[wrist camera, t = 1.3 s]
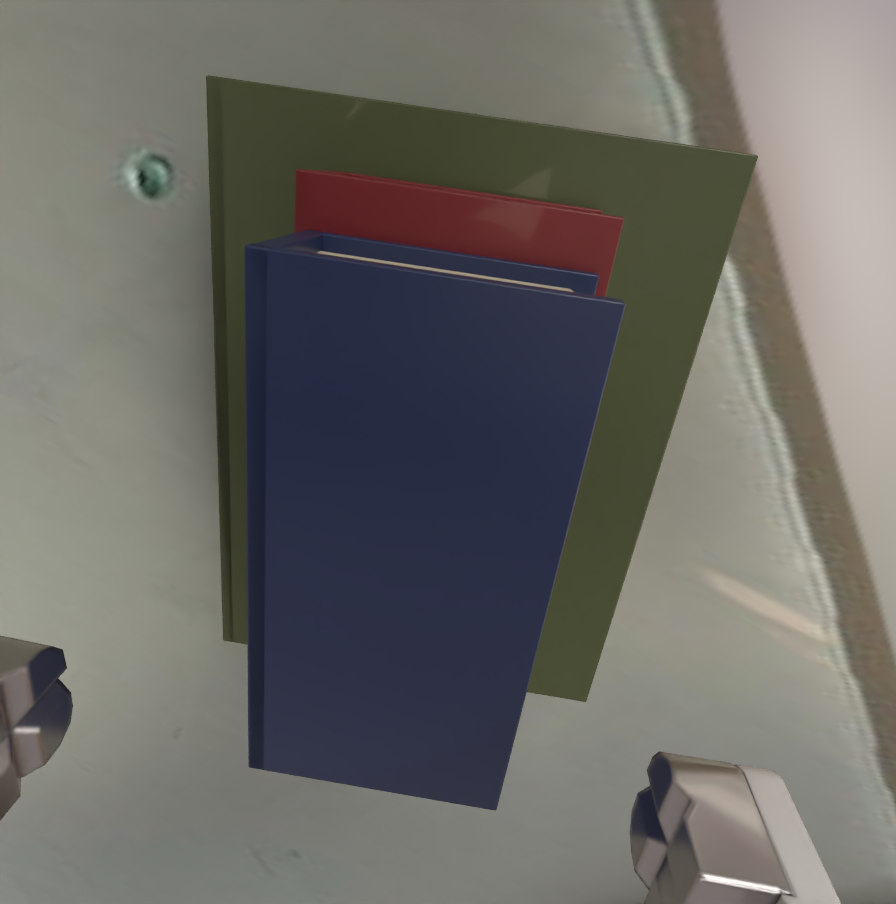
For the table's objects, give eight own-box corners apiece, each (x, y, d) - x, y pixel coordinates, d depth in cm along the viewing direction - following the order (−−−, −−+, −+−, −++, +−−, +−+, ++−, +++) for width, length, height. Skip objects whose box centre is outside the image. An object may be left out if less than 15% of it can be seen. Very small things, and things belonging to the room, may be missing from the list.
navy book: (306, 228, 11) (243, 244, 9) (597, 272, 11) (626, 303, 8) (292, 667, 16) (248, 767, 13) (498, 702, 16) (495, 811, 13)
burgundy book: (337, 170, 14) (295, 168, 11) (601, 209, 13) (624, 218, 11) (314, 620, 19) (282, 693, 16) (502, 651, 19) (501, 731, 16)
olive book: (257, 92, 16) (205, 75, 13) (714, 159, 16) (759, 155, 13) (257, 584, 23) (222, 640, 20) (576, 638, 22) (586, 702, 19)
